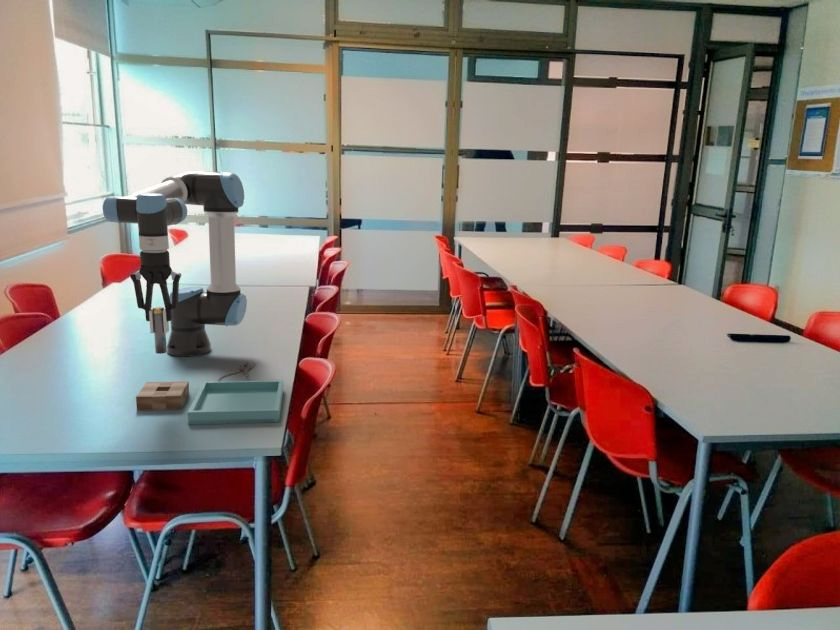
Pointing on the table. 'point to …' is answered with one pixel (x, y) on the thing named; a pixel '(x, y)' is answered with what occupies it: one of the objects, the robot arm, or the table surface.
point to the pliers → (242, 368)
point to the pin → (159, 330)
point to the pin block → (162, 395)
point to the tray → (237, 402)
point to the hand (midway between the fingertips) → (159, 331)
